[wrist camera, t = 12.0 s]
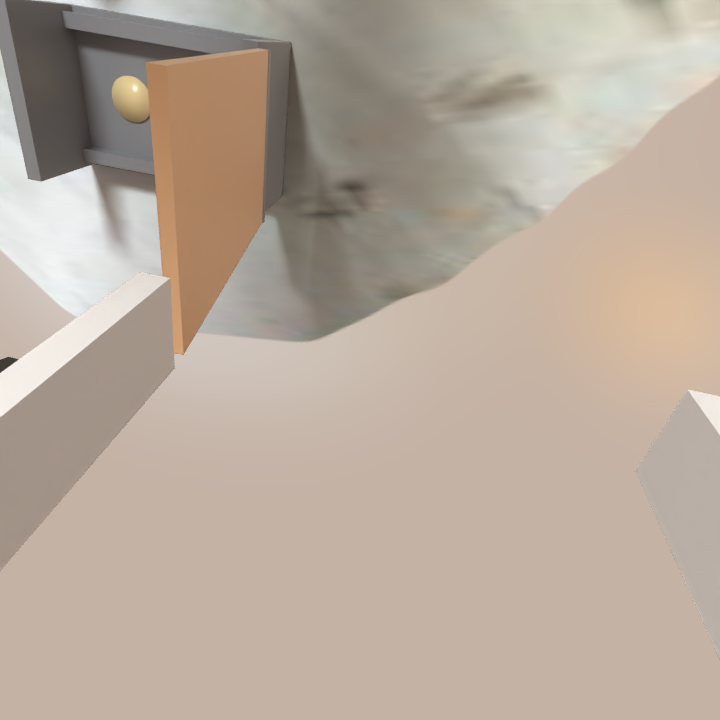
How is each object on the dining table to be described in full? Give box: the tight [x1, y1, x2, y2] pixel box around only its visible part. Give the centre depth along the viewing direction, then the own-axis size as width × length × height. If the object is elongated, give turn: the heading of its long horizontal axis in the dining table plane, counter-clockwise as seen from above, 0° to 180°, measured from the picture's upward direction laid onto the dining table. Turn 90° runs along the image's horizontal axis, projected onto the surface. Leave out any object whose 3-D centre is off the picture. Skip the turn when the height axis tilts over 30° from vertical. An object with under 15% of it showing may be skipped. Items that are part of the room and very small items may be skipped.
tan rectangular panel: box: [146, 48, 271, 355], centre depth 25 cm, size 10×18×1 cm
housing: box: [0, 0, 291, 211], centre depth 36 cm, size 11×17×8 cm, turn 82°
